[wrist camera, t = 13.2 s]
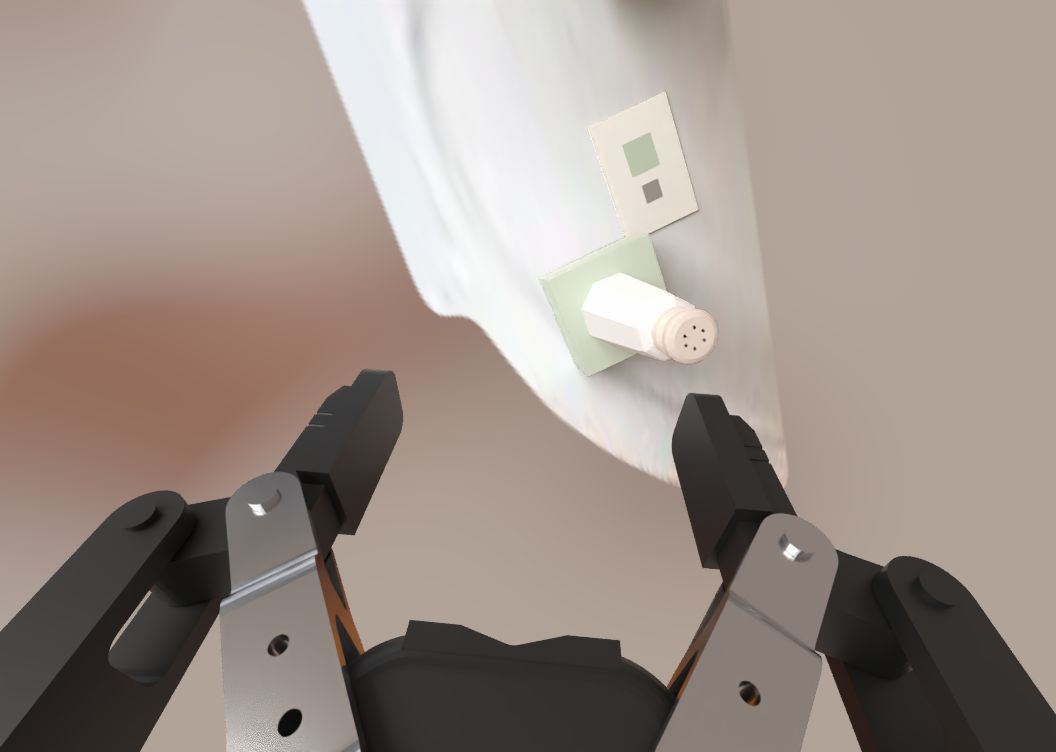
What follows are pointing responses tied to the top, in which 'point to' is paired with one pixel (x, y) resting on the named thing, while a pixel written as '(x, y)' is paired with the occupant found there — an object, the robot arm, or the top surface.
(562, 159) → the top surface
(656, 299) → the pepper shaker
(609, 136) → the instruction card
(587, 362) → the brick
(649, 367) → the top surface
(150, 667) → the robot arm
